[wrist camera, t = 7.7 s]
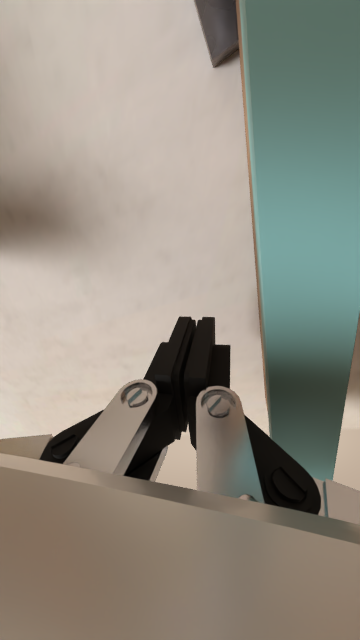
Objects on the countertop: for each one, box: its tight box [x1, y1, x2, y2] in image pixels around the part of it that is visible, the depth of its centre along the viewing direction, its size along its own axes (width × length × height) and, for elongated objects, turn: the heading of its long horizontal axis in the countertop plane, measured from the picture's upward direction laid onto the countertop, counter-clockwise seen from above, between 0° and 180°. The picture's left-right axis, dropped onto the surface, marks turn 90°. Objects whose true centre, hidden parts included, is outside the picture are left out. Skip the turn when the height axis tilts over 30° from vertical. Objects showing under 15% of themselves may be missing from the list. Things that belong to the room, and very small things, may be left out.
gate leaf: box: [236, 0, 360, 481], centre depth 8 cm, size 18×2×7 cm, turn 13°
